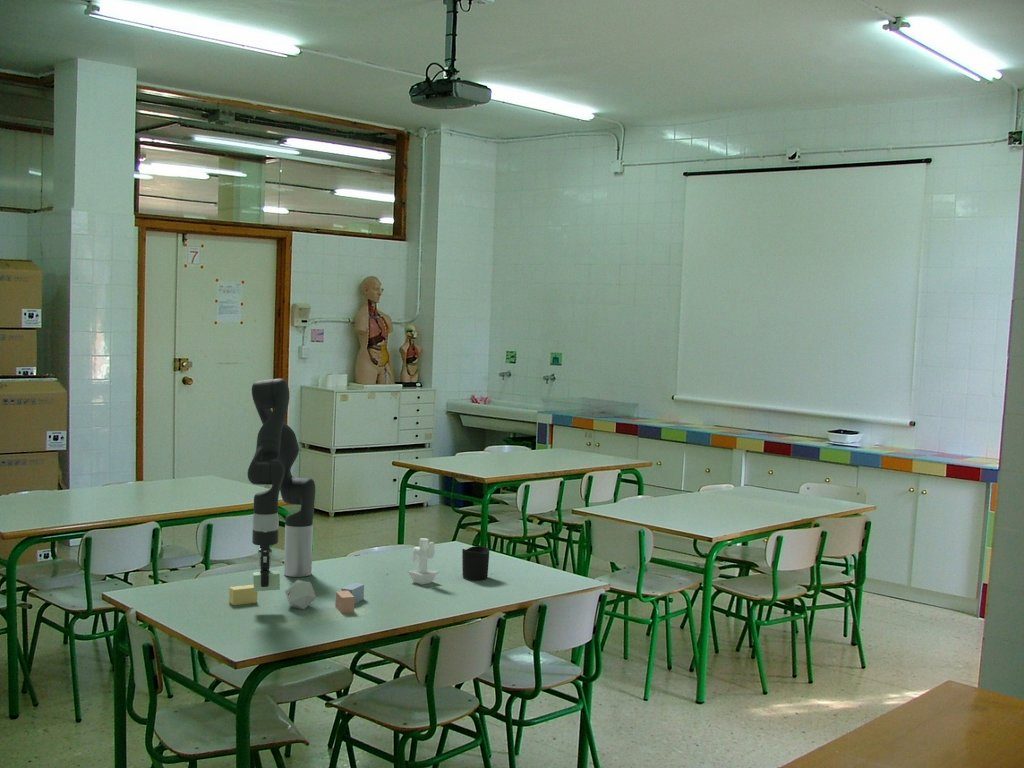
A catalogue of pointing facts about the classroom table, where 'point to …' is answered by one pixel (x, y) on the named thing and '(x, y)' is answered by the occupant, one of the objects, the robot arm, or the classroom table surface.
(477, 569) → the pen holder
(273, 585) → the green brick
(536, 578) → the classroom table surface
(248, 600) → the ochre brick
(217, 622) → the classroom table surface
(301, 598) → the die
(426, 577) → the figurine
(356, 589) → the slate brick
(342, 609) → the terracotta brick
